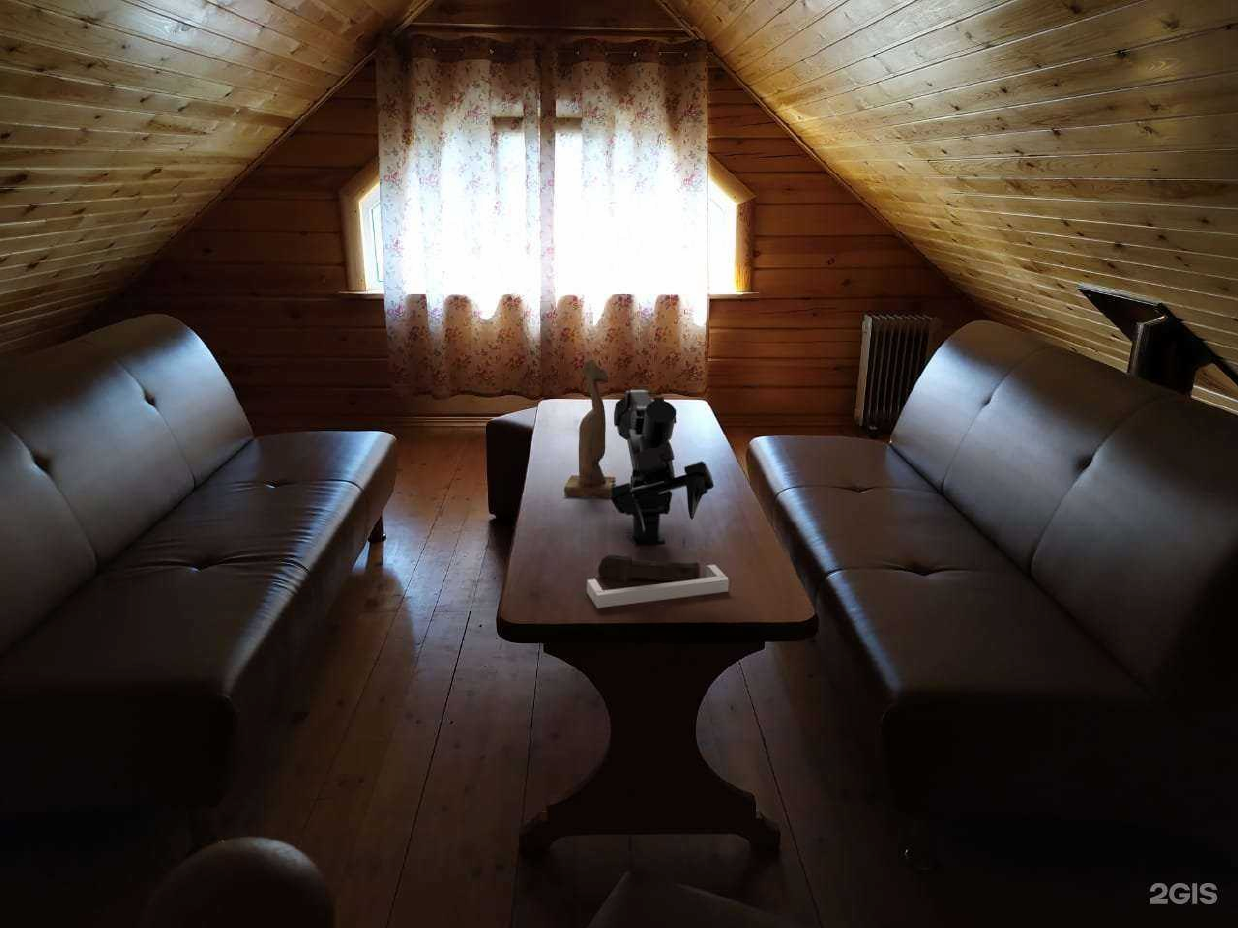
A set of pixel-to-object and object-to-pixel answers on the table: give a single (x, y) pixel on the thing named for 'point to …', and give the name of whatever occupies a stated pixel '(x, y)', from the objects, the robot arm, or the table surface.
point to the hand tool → (646, 569)
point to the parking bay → (658, 590)
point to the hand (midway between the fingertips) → (667, 525)
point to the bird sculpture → (591, 443)
